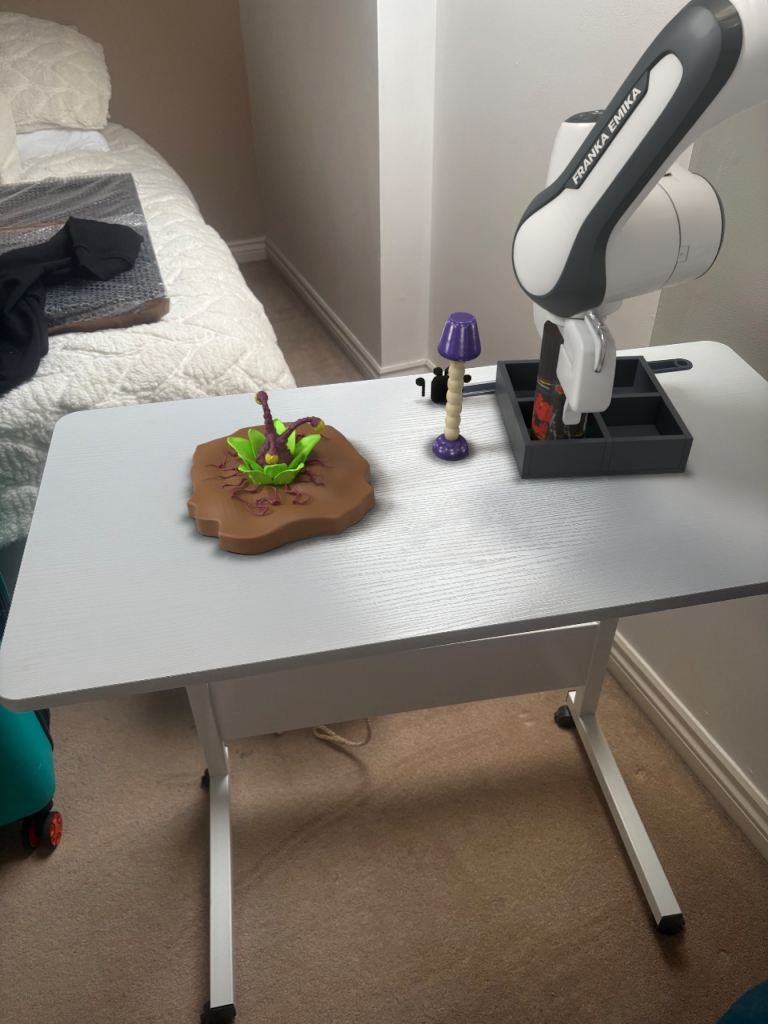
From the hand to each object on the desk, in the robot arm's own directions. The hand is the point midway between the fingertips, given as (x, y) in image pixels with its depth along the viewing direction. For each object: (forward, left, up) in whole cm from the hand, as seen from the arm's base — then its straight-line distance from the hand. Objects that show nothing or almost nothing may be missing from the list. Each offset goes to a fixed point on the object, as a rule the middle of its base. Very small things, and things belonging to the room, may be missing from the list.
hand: (562, 402), depth 91 cm
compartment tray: (-4, -5, -7) cm, 9 cm away
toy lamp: (+12, -2, -7) cm, 14 cm away
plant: (+32, +4, -7) cm, 33 cm away
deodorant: (0, 0, -6) cm, 6 cm away
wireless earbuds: (+12, -12, -7) cm, 18 cm away
